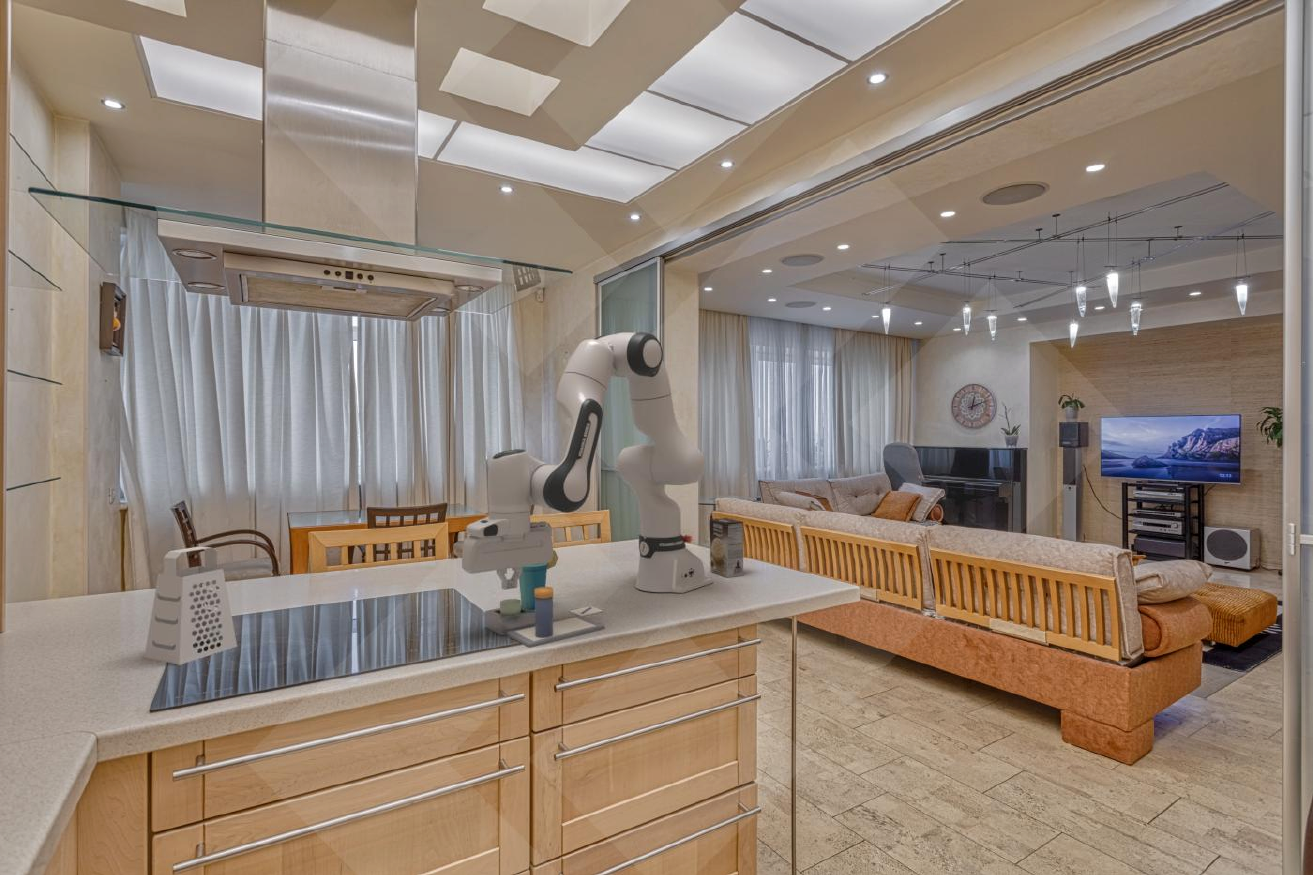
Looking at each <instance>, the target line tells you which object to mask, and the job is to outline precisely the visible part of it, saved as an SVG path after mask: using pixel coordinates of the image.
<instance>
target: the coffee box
mask: <svg viewBox="0 0 1313 875" xmlns="http://www.w3.org/2000/svg"><path fill="white" fill-rule="evenodd" d="M709 565H710V566H709V569H710V570H709V571H710V573H712V574H716V575H719V576H721V577H724V578H734V577H740V576H744V521H741V520H736V519H732V518H727V517H723V518H722V517H721V518H713V519H709Z"/></svg>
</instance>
